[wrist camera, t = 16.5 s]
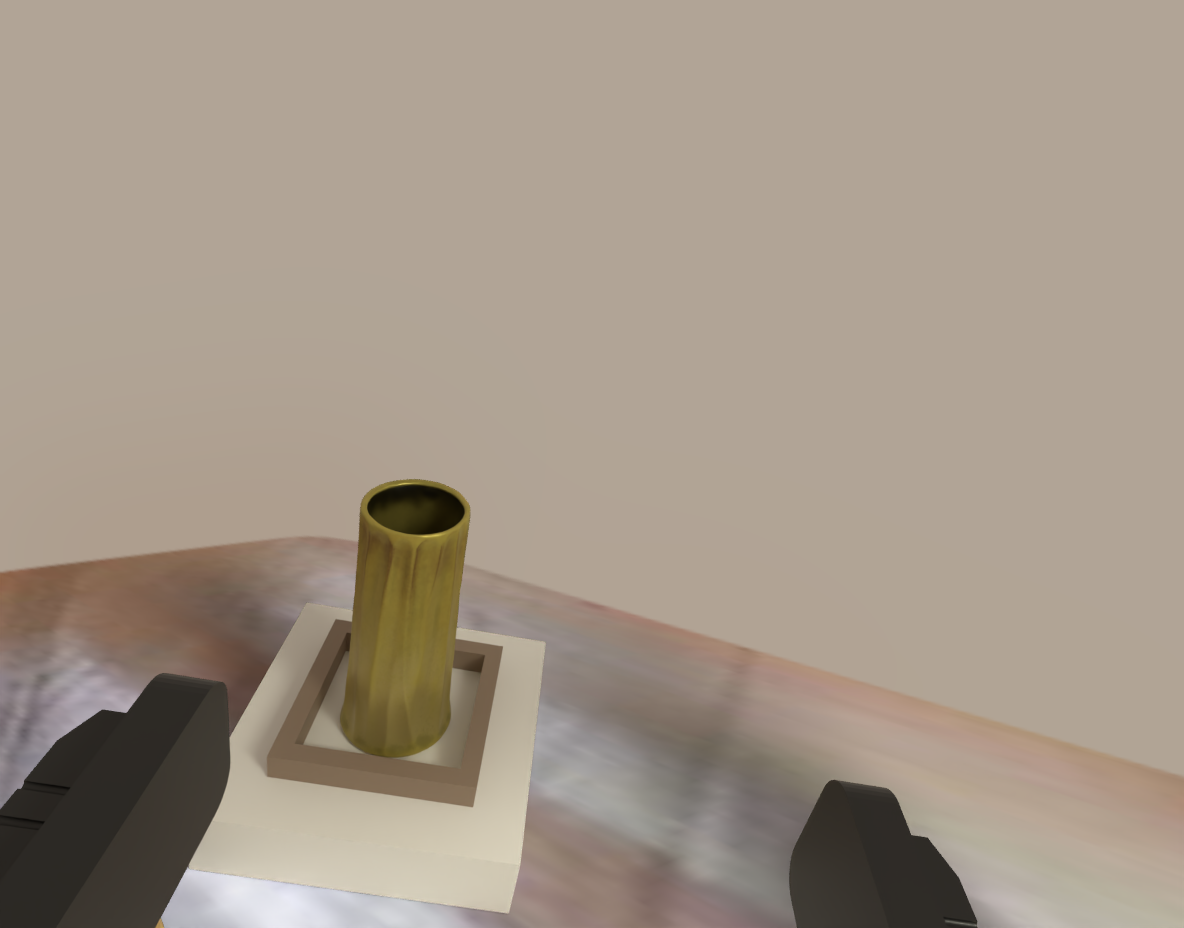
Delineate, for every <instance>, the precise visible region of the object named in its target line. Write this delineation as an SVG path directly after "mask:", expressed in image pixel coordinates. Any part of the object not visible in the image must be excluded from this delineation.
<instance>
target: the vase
mask: <svg viewBox="0 0 1184 928" xmlns="http://www.w3.org/2000/svg"><path fill="white" fill-rule="evenodd" d="M469 522H470V506H469V504H468V502H467V501H466V500H465V498H464V497H463V496H462V495H461V494H460V493H459V492H458V491H456V490H455V489H453V488H450V487H449V486H446V485H444V484H441V483H438V482H433V481H426V480H420V479H419V480H418V479H409V480H408V479H407V480H397V481H392V482H387V483H384V484H381V485H379V486H377V487H375V488H373V489H371V490H370V491H369V492H368V493H367V494H366V495H365V496H364V498H363V499H362V502H361V507H360V523H359V542H358V557H357V570H356V583H355V596H354V605H353V615H352V628H351V641H350V652H349V663H348V671H347V678H346V687H345V698H344V703H343V706H342V709H341V713H340V723H341V726H342V729H343V731H344V733H345V735H346V736H347V738H348V739H349V740H350V742H351V743H352V744H354V745H355V746H356V747H358V748H359V749H361V750H362V751H364V752H367V753H369V754H372V755H376V756H380V757H387V758H397V757H406V756H411V755H414V754H417V753H419V752H422V751H424V750H426V749H428V748H429V747H431V746H433V745H434V744H435V743H436V742H437V741H438V740H439V739H440V738H441V737H442V736H443V734H444V733H445V731H446V729H447V728H448V725H449V723H450V720H451V705H450V688H451V676H452V667H453V660H454V651H455V640H456V630H457V619H458V608H459V595H460V587H461V581H462V574H463V566H464V557H465V550H466V544H467V537H468V529H469Z"/></svg>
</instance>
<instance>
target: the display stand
mask: <svg viewBox="0 0 1184 928" xmlns="http://www.w3.org/2000/svg"><path fill="white" fill-rule="evenodd" d="M352 615H353V610H349V609H343V608H336V607H330V606H324V605H318V604H312V603H306V605H305V606H304V608H303V610H302V612H301V613H300V615H299V617H298V619H297V620H296V622H295V624H294V626H293V627H292V629H291V631H290V633H289V634H288V636H287V638H286V640H285V641H284V643H283V645H282V647H281V648H280V650H279V652H278V654H277V655H276V657H275V659H274V661H273V662H272V664H271V666H270V668H269V669H268V671H267V673H266V675H265V676H264V678H263V680H262V682H261V683H260V685H259V687H258V689H257V690H256V692H255V694H254V696H253V697H252V699H251V701H250V703H249V704H248V706H247V708H246V710H245V711H244V713H243V715H242V717H241V718H240V720H239V722H238V724H237V726H236V727H235V729H234V731H233V733H232V734H231V736H230V772H229V777H228V782H227V785H226V789H225V792H224V795H223V798H222V801H221V803H220V806H219V808H218V810H217V812H216V814H215V816H214V818H213V820H212V822H211V824H210V826H209V827H208V829H207V831H206V833H205V835H204V837H203V839H202V841H201V843H200V844H199V846H198V848H197V850H196V852H195V854H194V856H193V858H192V859H191V861H190V863H189V869H192V870H199V871H206V872H214V873H221V874H228V875H235V876H242V877H249V878H257V879H264V880H271V881H278V882H285V883H292V884H300V885H307V886H314V887H321V888H328V889H335V890H343V891H350V892H357V893H364V894H371V895H379V896H386V897H393V898H400V899H407V900H414V901H422V902H429V903H436V904H443V905H450V906H457V907H465V908H472V909H479V910H486V911H493V912H500V913H508V914H509V910H510V906H511V902H512V898H513V893H514V889H515V885H516V881H517V876H518V872H519V868H520V862H521V853H522V844H523V836H524V827H525V818H526V810H527V801H528V792H529V784H530V775H531V766H532V758H533V749H534V740H535V732H536V723H537V714H538V706H539V697H540V688H541V680H542V671H543V662H544V654H545V645H546V642H543V641H537V640H530V639H524V638H518V637H512V636H506V635H500V634H494V633H488V632H482V631H476V630H470V629H464V628H458V627H457V630H456V640H455V651H454V660H453V667H452V676H451V688H450V705H451V720H450V723H449V725H448V728H447V729H446V731H445V733H444V734H443V736H442V737H441V738H440V739H439V740H438V741H437V742H436V743H435V744H434V745H433V746H431V747H429V748H428V749H426V750H424V751H422V752H419V753H417V754H414V755H411V756H406V757H397V758H387V757H380V756H376V755H372V754H369V753H367V752H364V751H362V750H361V749H359V748H358V747H356V746H355V745H354V744H352V743H351V742H350V740H349V739H348V738H347V736H346V735H345V733H344V731H343V729H342V726H341V723H340V713H341V709H342V706H343V703H344V698H345V687H346V678H347V671H348V663H349V652H350V641H351V628H352Z"/></svg>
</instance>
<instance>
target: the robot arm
mask: <svg viewBox="0 0 1184 928" xmlns="http://www.w3.org/2000/svg"><path fill="white" fill-rule="evenodd" d="M229 772H230V738H229V717H228V696H227V688H226V685H225V684H224V683H223V682H219V681H212V680H206V679H200V678H193V677H187V676H180V675H174V674H168V673H162V674H159V675H157V676H156V677H155V678H154V679H153V680H152V681H151V682H150V683H149V684H148V685H147V687H146V688H145V689H144V691H143V692H142V693H141V695H140V696H139V697H138V699H137V700H136V701H135V703H134V704H133V705H132V707H131V708H130V709H129V711H128V712H127V713H122V712H115V711H109V710H101V711H100V712H98V713H97V714H95V715H94V716H92V717H91V718H89V719H88V720H86V721H85V722H83V723H82V724H81V725H79V726H78V727H76V728H75V729H73V730H72V731H70V732H69V733H67V734H66V735H65V736H63V737H62V738H60V739H59V740H57V741H56V743H55V744H54V745H53V746H52V747H51V749H50V750H49V751H48V752H47V753H46V755H45V756H44V757H43V758H42V760H41V761H40V762H39V763H38V764H37V766H36V767H35V768H34V769H33V770H32V772H31V773H30V774H29V775H28V777H27V778H26V779H25V780H24V785H23V787H22V788H21V789H17V790H16V791H15V792H14V794H13V795H12V796H11V797H10V798H9V800H8V801H7V802H6V803H5V804H4V806H3V807H2V808H1V809H0V928H155V927H156V925H157V924H158V922H159V920H160V918H161V916H162V914H163V912H164V910H165V908H166V907H167V905H168V903H169V901H170V899H171V897H172V895H173V893H174V891H175V890H176V888H177V886H178V884H179V882H180V880H181V878H182V876H183V875H184V873H185V871H186V869H187V867H188V865H189V863H190V861H191V859H192V858H193V856H194V854H195V852H196V850H197V848H198V846H199V844H200V843H201V841H202V839H203V837H204V835H205V833H206V831H207V829H208V827H209V826H210V824H211V822H212V820H213V818H214V816H215V814H216V812H217V810H218V808H219V806H220V803H221V801H222V798H223V795H224V792H225V789H226V785H227V782H228V777H229ZM789 884H790V895H791V901H792V906H793V910H794V915H795V920H796V924H797V928H977V919H976V917H975V915H974V912H973V910H972V908H971V905H970V903H969V901H968V898H967V896H966V894H965V891H964V889H963V887H962V884H961V882H960V880H959V877H958V876H957V875H956V874H955V872H954V871H953V870H952V868H951V867H950V866H949V865H948V863H947V862H946V861H945V859H944V858H943V857H942V856H941V854H940V853H939V852H938V850H937V849H936V848H935V847H934V845H933V844H932V843H931V842H930V840H929V839H928V838H926V837H920V836H913V835H911V833H910V831H909V828H908V826H907V823H906V820H905V818H904V815H903V813H902V810H901V808H900V805H899V803H898V801H897V798H896V797H895V795H894V794H893V793H892V792H891V791H890V790H889V789H887V788H882V787H876V786H869V785H863V784H857V783H850V782H844V781H837V780H831V781H830V782H828V783H827V784H826V786H825V787H824V789H823V791H822V793H821V795H820V797H819V799H818V801H817V803H816V805H815V807H814V809H813V811H812V813H811V815H810V817H809V819H808V821H807V823H806V825H805V827H804V829H803V831H802V833H801V835H800V837H799V839H798V841H797V843H796V845H795V847H794V850H793V853H792V857H791V863H790V873H789Z"/></svg>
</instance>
